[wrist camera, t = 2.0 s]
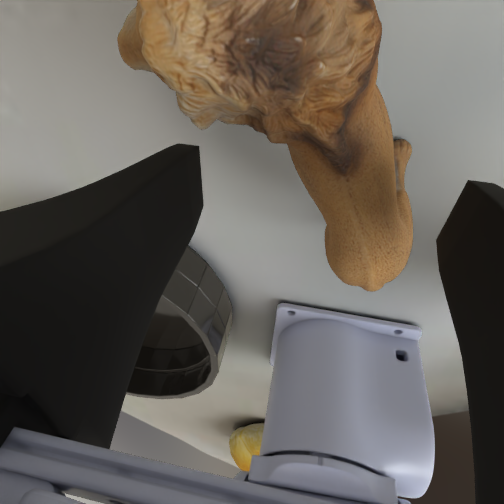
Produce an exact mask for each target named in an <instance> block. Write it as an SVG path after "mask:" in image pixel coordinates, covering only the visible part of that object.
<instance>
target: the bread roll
mask: <svg viewBox="0 0 504 504" xmlns="http://www.w3.org/2000/svg"><path fill="white" fill-rule="evenodd" d="M263 429H264V423H257V424H251V425H248V426H246V427H240V428H238V429H236V430H235V431H234V432H233V433H232V435H231V437H230V442H229V445H230V451H231V455H232V457H233V459H234V461H235V462H236V464H237V466H238V467H239V468H240V469H241V470H242V471H248V472H249V470H250V464H251V459H252V456H253V455H258V456H259V454H260V448H261V442H262V435H263Z"/></svg>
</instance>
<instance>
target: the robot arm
mask: <svg viewBox="0 0 504 504" xmlns="http://www.w3.org/2000/svg"><path fill="white" fill-rule="evenodd" d="M202 209H203V193H202V179H201V166H200V152H199V146H194V145H186V144H176V145H173V146H170V147H168V148H166V149H164V150H162V151H160V152H158V153H156V154H154V155H152V156H150V157H148V158H146V159H144V160H142V161H140V162H138V163H135V164H133V165H131V166H129V167H127V168H125V169H123V170H121V171H119V172H117V173H114V174H112V175H110V176H108V177H105V178H103V179H101V180H99V181H96V182H94V183H92V184H89V185H87V186H84V187H82V188H79V189H76V190H74V191H71V192H68V193H65V194H62V195H59V196H56V197H53V198H50V199H47V200H44V201H40V202H36V203H32V204H29V205H25V206H21V207H17V208H14V209H10V210H6V211H2V212H0V504H85V503H82V502H79V501H76V500H74V499H71V498H68V497H66V496H65V494H64V493H66V494H70V495H73V496H77V497H81V498H85V499H89V500H93V501H97V502H101V503H105V504H411V503H410V502H409V501H407V500H404V499H398V498H397V496H402V497H407V498H419V497H421V496H422V495H423V494H424V493H425V492H426V490H427V488H428V486H429V484H430V481H431V478H432V474H433V469H434V456H435V439H434V429H433V422H432V416H431V410H430V405H429V399H428V394H427V388H426V382H425V377H424V371H423V365H422V360H421V354H420V349H419V343H418V341H419V339H420V337H421V336H422V331H421V328H419V327H417V326H413V325H408V324H402V323H396V322H390V321H385V320H379V319H373V318H368V317H362V316H356V315H351V314H345V313H339V312H333V311H328V310H322V309H316V308H311V307H305V306H299V305H293V304H288V303H280V304H279V305H278V306H277V311H276V319H275V326H274V333H273V340H272V348H271V355H270V362H269V363H270V365H271V366H273V367H274V368H273V374H272V380H271V386H270V392H269V398H268V405H267V411H266V417H265V423H264V429H263V435H262V442H261V448H260V454H259V456H258V455H253V456H252V459H251V464H250V470H249V472H248V471H240V472H239V473H238V474H237V475H236V476H235V477H234V478H233V479H232V478H228V477H224V476H220V475H215V474H211V473H207V472H203V471H198V470H194V469H190V468H186V467H182V466H177V465H173V464H168V463H165V462H160V461H156V460H152V459H148V458H144V457H139V456H135V455H131V454H127V453H122V452H118V451H114V450H110V449H109V448H110V445H111V441H112V438H113V434H114V431H115V428H116V424H117V421H118V418H119V414H120V411H121V408H122V404H123V401H124V398H125V395H126V392H127V389H128V386H129V383H130V380H131V376H132V373H133V370H134V367H135V364H136V361H137V359H138V356H139V353H140V350H141V347H142V345H143V342H144V339H145V336H146V334H147V331H148V328H149V326H150V323H151V321H152V318H153V315H154V313H155V310H156V308H157V305H158V303H159V300H160V298H161V296H162V294H163V292H164V290H165V288H166V286H167V284H168V282H169V280H170V278H171V276H172V274H173V273H174V271H175V269H176V267H177V265H178V263H179V261H180V259H181V257H182V256H183V254H184V252H185V250H186V248H187V246H188V244H189V242H190V240H191V238H192V236H193V234H194V232H195V229H196V226H197V224H198V221H199V218H200V215H201V212H202ZM436 242H437V256H438V265H439V272H440V276H441V280H442V284H443V287H444V291H445V295H446V299H447V302H448V306H449V309H450V313H451V317H452V320H453V324H454V327H455V331H456V335H457V338H458V342H459V346H460V351H461V355H462V361H463V368H464V374H465V381H466V388H467V396H468V404H469V413H470V422H471V432H472V443H473V458H474V471H475V496H476V504H504V189H503V188H501V187H500V186H498V185H496V184H494V183H487V182H479V181H471V180H468V181H467V183H466V185H465V187H464V189H463V191H462V193H461V195H460V196H459V198H458V200H457V202H456V204H455V206H454V208H453V210H452V211H451V213H450V215H449V217H448V219H447V221H446V223H445V225H444V226H443V228H442V230H441V232H440V234H439V236H438V238H437V240H436Z"/></svg>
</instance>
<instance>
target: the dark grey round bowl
mask: <svg viewBox="0 0 504 504" xmlns="http://www.w3.org/2000/svg"><path fill="white" fill-rule="evenodd" d="M231 326H232V305H231V302H230V300H229V297H228V295H227V292H226V290H225V287H224V285H223V284H222V282H221V281H220V280H219V278H218V277H217V275H216V274H215V272H214V271H213V270H212V268H211V267H210V266H209V265H208V264H207V263H206V261H205V260H204V259H203V258H202V257H200V256H199V255H198V254H197V253H196V252H195V251H194V250H193V249H191V248H190V247H189V246H187V248H186V250H185V252H184V254H183V256H182V257H181V259H180V261H179V263H178V265H177V267H176V269H175V271H174V273H173V274H172V276H171V278H170V280H169V282H168V284H167V286H166V288H165V290H164V292H163V294H162V296H161V298H160V300H159V303H158V305H157V308H156V310H155V313H154V315H153V318H152V321H151V323H150V326H149V328H148V331H147V334H146V336H145V339H144V342H143V345H142V347H141V350H140V353H139V356H138V359H137V361H136V364H135V367H134V370H133V373H132V376H131V380H130V383H129V386H128V389H127V392H126V394H128V395H132V396H137V397H145V398H155V399H174V398H184V397H188V396H191V395H195V394H199V393H200V392H202V391H203V390H205V389H206V388H208V387H209V386H211V385H212V383H213V382H214V380H215V378H216V376H217V374H218V372H219V368H220V365H221V361H222V358H223V354H224V351H225V347H226V344H227V340H228V337H229V333H230V330H231Z"/></svg>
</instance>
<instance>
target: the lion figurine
mask: <svg viewBox="0 0 504 504" xmlns="http://www.w3.org/2000/svg"><path fill="white" fill-rule="evenodd" d="M137 2H138V3H137V6H136V8H134V9H133V10H132V11H131V12H130V14H129V15H128V16H127V18H126V21H125V23H124V25H123V27H122V29H121V31H120V33H119V34H118V38H117V40H118V47H119V51H120V54H121V57H122V59H123V60H124V62H125V63H126V64H127V65H128V66H130V67H131V68H133V69H135V70H146V71H150V72H154V73H155V74H156V75H157V76H158V77H159V78H160V79H161V80H162V81H163V82H164V83H166V84H167V85H168V87H169V88H170V89H172V90H174V91H176V96H177V102H178V106H179V108H180V110H181V111H182V112H183V113H184V114H185V115H186V116H188V117H189V118H190V119H191V121H192V122H193V123H194V124H195V125H196V126H197V127H198V128H199V129H201V130H203V129H206V128H208V127H209V126H210V125H211V124H212V123H213V122H214V121H215V120H216V119H218V120H220V121H222V122H224V123H226V124H240V125H248V126H250V127H253V128H254V130H255V131H258V132H261V133H264V134H266V136H267V138H268V140H269V141H270V142H271V143H287V145H288V148H289V151H290V154H291V157H292V161H293V163H294V165H295V168H296V170H297V172H298V174H299V176H300V178H301V180H302V182H303V184H304V185H305V187H306V189H307V191H308V193H309V194H310V196H311V197H312V199H313V200H314V202H315V203H316V205H317V207H318V208H319V210H320V212H321V213H322V215H323V217H324V219H325V221H326V224H327V226H326V229H325V248H326V256H327V259H328V263H329V265H330V267H331V268H332V270H333V272H334V273H335V274H336V275H337V276H338V278H339V279H341V280H342V281H343V282H344V283H346V284H348V285H352V286H360V287H362V288H363V289H365V290H366V291H376V290H379V289H380V288H382V287H383V285H384V284H385V283H387V282H390V281H392V280H393V279H395V278H396V277H397V276H398V275H399V274H400V272H401V271H402V270H403V269H404V267H405V266H406V263H407V260H408V258H409V255H410V252H411V248H412V242H413V220H412V211H411V206H410V202H409V198H408V195H407V193H406V191H405V189H404V174H405V168H406V165H407V163H408V160H409V158H410V155H411V152H412V148H411V145H410V143H409V142H407V141H406V140H404V139H398V140H395V141H393V136H392V129H391V124H390V120H389V116H388V113H387V109H386V106H385V103H384V100H383V98H382V95H381V93H380V91H379V89H378V87H377V85H376V79H377V71H378V58H377V57H378V53H379V47H380V41H381V35H382V25H381V22H380V20H379V17H378V14H377V11H376V6H375V4H374V1H373V0H137Z"/></svg>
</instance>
